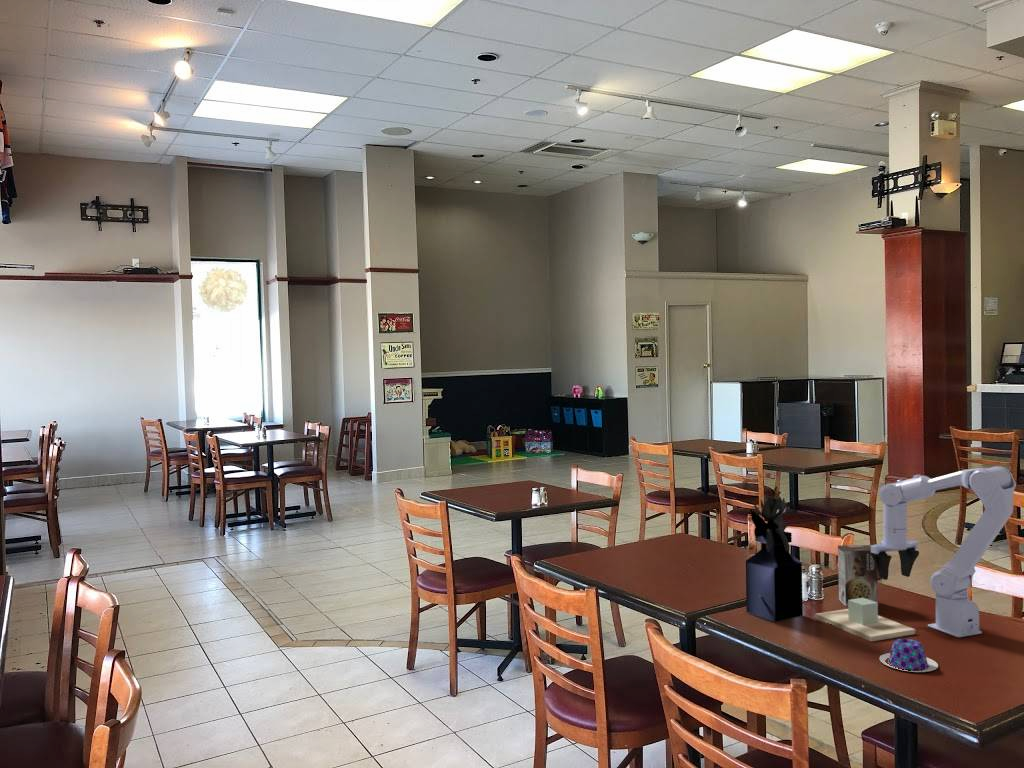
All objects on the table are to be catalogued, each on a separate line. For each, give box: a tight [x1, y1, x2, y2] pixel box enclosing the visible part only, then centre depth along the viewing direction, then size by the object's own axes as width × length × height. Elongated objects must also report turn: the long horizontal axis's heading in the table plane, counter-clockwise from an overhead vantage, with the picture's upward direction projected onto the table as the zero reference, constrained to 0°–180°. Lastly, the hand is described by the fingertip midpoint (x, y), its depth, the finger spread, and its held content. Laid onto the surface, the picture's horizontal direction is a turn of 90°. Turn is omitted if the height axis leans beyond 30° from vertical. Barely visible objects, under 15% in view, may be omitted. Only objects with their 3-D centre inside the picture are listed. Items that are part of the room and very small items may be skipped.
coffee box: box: [837, 544, 879, 607], centre depth 227 cm, size 9×6×16 cm
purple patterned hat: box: [879, 638, 939, 673], centre depth 182 cm, size 12×12×5 cm
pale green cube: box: [847, 598, 879, 625], centre depth 208 cm, size 5×5×5 cm
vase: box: [745, 486, 804, 623], centre depth 218 cm, size 14×12×35 cm
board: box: [814, 608, 916, 642], centre depth 208 cm, size 20×14×4 cm
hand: (894, 577), depth 216 cm, fingers open, 7 cm apart
